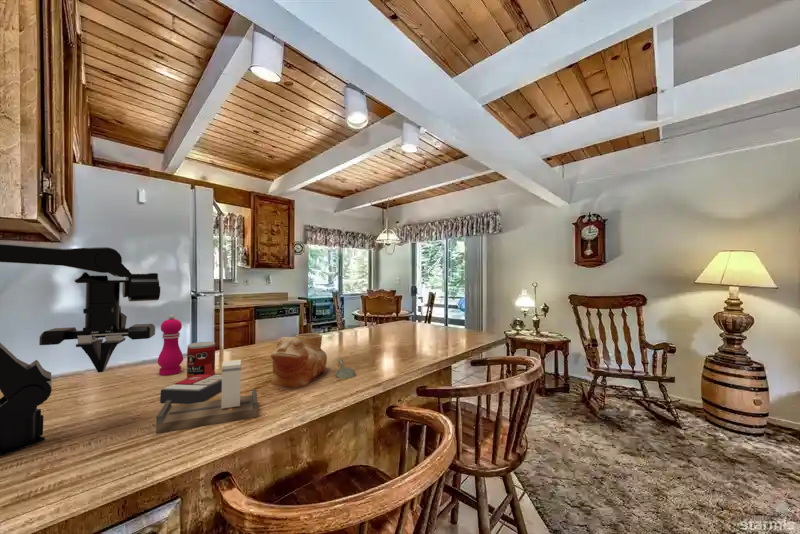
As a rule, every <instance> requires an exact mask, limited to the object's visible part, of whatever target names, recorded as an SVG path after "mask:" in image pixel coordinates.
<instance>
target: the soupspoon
mask: <svg viewBox="0 0 800 534" xmlns="http://www.w3.org/2000/svg"><path fill="white" fill-rule="evenodd" d="M337 361H338V363H340V366H341V368H338V369H336V371H335V376H336V377H337V378H338V379H341V380H343V379H351V378H354V377H355V376H356V371H355V370H354V369H353V368H351V367H349V366H348V367H347V366H345V365H344V363H343V358H338V359H337Z"/></svg>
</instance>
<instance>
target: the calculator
mask: <svg viewBox="0 0 800 534" xmlns="http://www.w3.org/2000/svg"><path fill="white" fill-rule="evenodd" d="M220 392H221V393H222V374H214V375H201V374H199V375H196V376H193V377H190V378H188V379H187V378H185V379H183V380H180V381H177V382H175V383H174V384H171V385H168V386H165V387H163V388H162V389H160V398H159V404H165V402H166V401H167V400H171V404H176V405H183V404H191V403H198V402H205V401H208V399H210V398H211V397H212V396H215V395H216V394H218V393H220Z"/></svg>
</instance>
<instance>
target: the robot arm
mask: <svg viewBox="0 0 800 534" xmlns="http://www.w3.org/2000/svg"><path fill="white" fill-rule="evenodd" d="M122 258H123V257H122V255H121V254H120V252H118V251H117V250H116V249H114V248H112V247H107V246H102V247H101V246H100V247H97V246H96V247H75V248H58V247H57V248H56V247H46V246H33V245H24V244H22V245H21V244H10V243H0V263H8V264H11V263H13V264H27V265H30V264H31V265H46V266H61V267H68V268H73V269H78V270H84V272H82V274H81V275H80V276H79V277H78V278H75V279H74V283H76V284H85V307H84V308H83V309H82V312H83V315H84V314H85V315H84V316H85V317H84V319H85V321H84V327H82V330H77V329H76V327H74V326H73V327H56V328H52V329H49V330H45V331H43V332H42V333H41V334H40V336H39V346H53V345H60V344H61V343H63V342H64V341H67V340H70V341H71V340H77V343H76V344H75V348H81V349H82V350H83V352H84V353H85V354H86V355H87V356H88V358H89V360H90V361H91V363H92V365H93V366H94V368H95V370H96V371H97V373H98V374H99V373H103V372H105V370H106V368H107V366H108V363H109V361H110V360H111V359H110V358H111V356H112V355H113V353H114V351H115V349H116V347H117V346H118V345H119V344H121V343H123V342H124V341H126V337H127V338H129V339H130V340H133V341H134V340H148V339H151V338H152V337H153V336H155V335H156V326H155V325H154V324H153V323H137V324H133V325H131V326H129V327H127V326H126V325H127V319H128V318H127V317H128V316H127V315H126V314H125V313H122V311H121V310H122V308H121V305H120V295H121V293H120V290H121V291H122V298H127V299H128V302H147V301H149V302H150V301H159V300H160V296H161V286H160V280H159V274H158V273H157V272H149V273H132V272H130V270H129V269H128V268H127V267H126V266H125V265H124V264H123V259H122ZM86 271H87V272H86ZM88 271H90V272H95V273H100V274H102V273H103V274H110V275H112V276H114V277H118V278H125V279H109V278H108V277H109V276H108V275H90V274H89V273H88ZM121 283H122V289H120V288H121ZM103 338H105V341H104V339H103ZM52 385H53V384H52V372H50V371H47V370H46V369H45V368H44V367H43V366H42V365H41V364H40V362H39V360H37V359H35V360H33V362H31V363H30V364H29V363H26V362H25V361H22V360H21V359H19V358H17V357H16V356H15V355H14V354H13V353H12V352H11V350H9V349H8V348H6V346H4V345H3V343H1V342H0V392H1V394H2V395H3V396H2V397H1V398H0V457H3V456H4V457H5V456H7V455H9V454H11V453H15V452H17V451H20V450H24V449H25V448H28V447H31V446H33V445H36V444H39V443H41V442H44V441H46V439H47V437H46V436H43V435H44V421H45V420H44V417H45V416H44V415H43V414H42V409H41V408H38V406H41V405H42V404H43V403H45V402H46V401H47V400H48V399H49V398H50V396H51V394H52V392H53V391H52V390H53V389H52Z"/></svg>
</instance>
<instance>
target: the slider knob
mask: <svg viewBox="0 0 800 534" xmlns="http://www.w3.org/2000/svg"><path fill="white" fill-rule="evenodd" d="M241 371H242V359H235V360H233V359H232V360H223V361H222V366H221V375H222V391H221V409H223V408H230V407H237V406H240V397H241V381H242V380H241V377H242V375H241V373H242V372H241Z"/></svg>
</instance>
